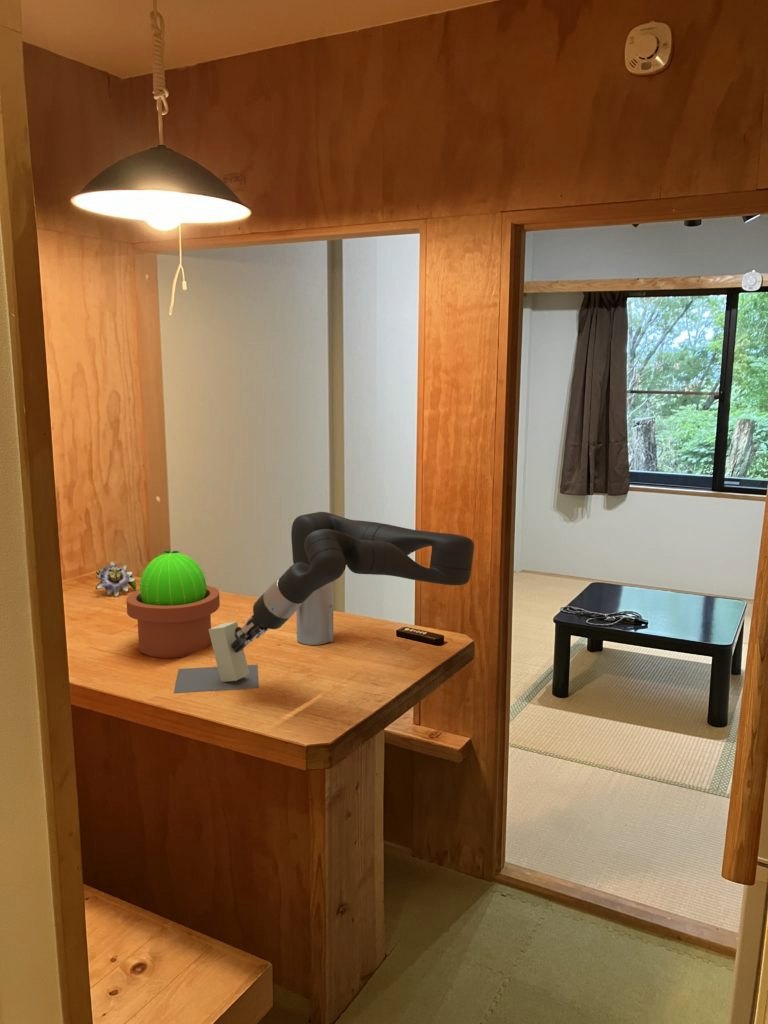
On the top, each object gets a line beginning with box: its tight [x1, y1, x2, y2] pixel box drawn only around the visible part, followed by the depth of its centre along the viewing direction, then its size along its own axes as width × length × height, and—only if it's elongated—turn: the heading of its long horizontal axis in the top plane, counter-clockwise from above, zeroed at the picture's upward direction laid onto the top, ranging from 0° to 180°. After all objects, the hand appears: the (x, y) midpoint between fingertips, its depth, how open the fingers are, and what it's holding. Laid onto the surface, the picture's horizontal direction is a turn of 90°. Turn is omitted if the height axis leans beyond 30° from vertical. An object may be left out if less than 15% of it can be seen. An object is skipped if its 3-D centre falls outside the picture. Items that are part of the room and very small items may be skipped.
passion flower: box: [95, 561, 137, 598], centre depth 247 cm, size 11×11×12 cm
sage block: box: [209, 621, 249, 682], centre depth 176 cm, size 4×4×12 cm
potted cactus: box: [125, 550, 221, 659], centre depth 198 cm, size 22×22×25 cm
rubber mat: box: [173, 663, 260, 694], centre depth 178 cm, size 18×14×1 cm
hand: (235, 648), depth 175 cm, fingers closed
